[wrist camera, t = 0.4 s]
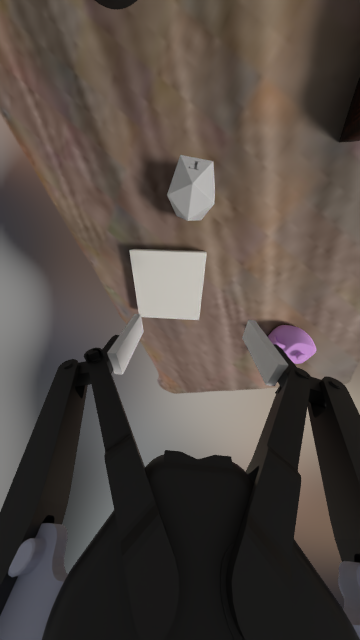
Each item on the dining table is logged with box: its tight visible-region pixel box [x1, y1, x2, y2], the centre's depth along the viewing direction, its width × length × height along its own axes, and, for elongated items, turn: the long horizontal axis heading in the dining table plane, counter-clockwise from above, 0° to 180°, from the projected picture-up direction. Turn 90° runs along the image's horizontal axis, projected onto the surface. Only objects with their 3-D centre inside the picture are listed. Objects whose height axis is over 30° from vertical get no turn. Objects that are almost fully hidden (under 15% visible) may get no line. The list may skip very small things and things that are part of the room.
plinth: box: [129, 249, 207, 320], centre depth 38 cm, size 18×18×4 cm
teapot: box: [268, 325, 316, 363], centre depth 43 cm, size 15×14×10 cm
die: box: [167, 155, 215, 221], centre depth 25 cm, size 8×9×10 cm
